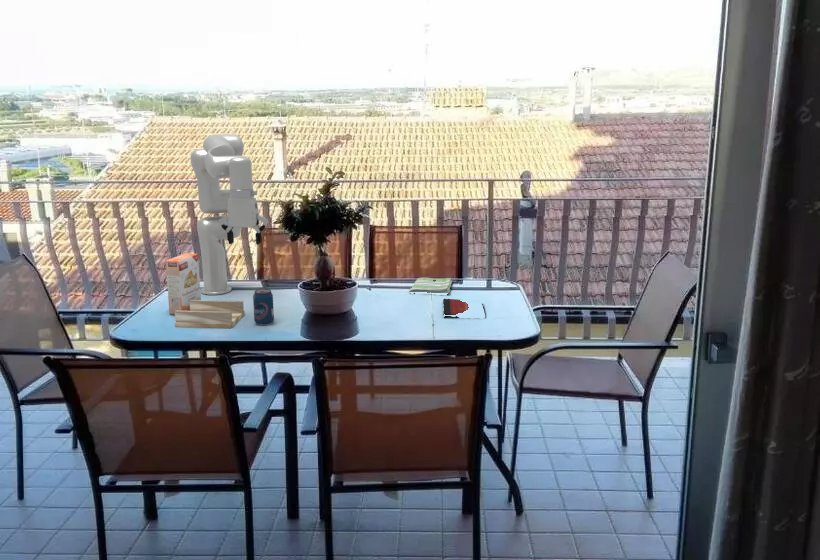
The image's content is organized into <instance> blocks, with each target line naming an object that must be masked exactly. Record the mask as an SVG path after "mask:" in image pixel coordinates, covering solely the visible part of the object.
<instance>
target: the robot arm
mask: <svg viewBox="0 0 820 560" xmlns="http://www.w3.org/2000/svg"><path fill="white" fill-rule="evenodd" d="M202 144H203V145H202V146H203V148H199V149H196V150H193V151H192V152H191V154H190V164H191V167H192V170H193V172H194V174H195V177H196V181H197V191H198V192H197V193H198V194H197V195H198V203H199V204H198V205H199V209H200V211H201V212H202V213H203V214H210V215H211V214H212V215H213V214H226V213H227V215H219V216H218V215H217V216H216V215H215V216H206V217H202V218H200V219H199V220H197V223H196V229H197V235H198V238H199V244H200V254H201V266H202V267H201V268H202V278H203V279H202V280H203V287H202V288H201V287H200V294H202V295H206V294H207V296H208V295H211V296H217V295H223V294H227V293H230V292H231V291H232V287H231V286H230V285H228V281H229V278H228V276H227V272H228V271H227V260H226V259H227V258H226V250H225V247H224V246H223V245H222V244H221V243H220V242H219V240H225V239H227V240H226V241H227V242H228V245H231V244H234V243H235V239H236V238H238V237H240V235H241V233H242V228H243V229H245V228H247V229H249V228H251V229H254V231H255V244H256V245H260V244H261V242H263V238H262V237H263V235H262V234H263V233H262V232H263V231H264V230H265V229H266V228H267V225H268V223H269V219H267V218H265V217H264V216H262V215H260V212H259V207H258V201H257V197H255V196H258V191H257V190H254V187H253V185H254V184H253V171H252V170H253V169H252V161H251V159H250V158H248V157H247V156H245V155H243V154H244V142H243V139H242V138H241V137H240V135H237V134H212V135H211V134H210V135H208V136H207V137H206V138H204V140H203V143H202ZM220 179H229V189H227V188H225V189H221V186H220ZM260 222H261V223H262V224H261V226H260Z"/></svg>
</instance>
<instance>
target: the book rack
mask: <svg viewBox="0 0 820 560" xmlns="http://www.w3.org/2000/svg"><path fill="white" fill-rule="evenodd" d="M189 304H190V311H179V310H176V311H175V315H174V319H175V322H174V327H175V328H194V329H197V328H200V329H201V328H202V329H203V328H204V329H205V328H206V329H211V328H212V329H231V328H233V327H234V326H235V325H236V324H237V323H238V322H239V321H240V320H241V319H242V318H243V317H244V316H245V314H246V312H245V310H244V309H245V308H244V300H211V299H209V300H207V299H201V300H190V301H189ZM234 324H235V325H234Z"/></svg>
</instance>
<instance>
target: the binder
mask: <svg viewBox="0 0 820 560" xmlns="http://www.w3.org/2000/svg"><path fill="white" fill-rule="evenodd" d="M460 300H461V299H454V298H453V299H452V298H443V300H442V305H443V304H444V306H442V307H443V308H444V311H442V312H443V313H442V315H444V314H445V315H456V314H458V313H463V312H464V311H466V310H468V308H469V307H468V304H467V303H466V302H462V301H460ZM443 308H442V309H443Z"/></svg>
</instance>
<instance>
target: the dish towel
mask: <svg viewBox="0 0 820 560" xmlns="http://www.w3.org/2000/svg"><path fill="white" fill-rule="evenodd" d="M433 280H436V281H435V282H434V281H433ZM452 282H453V283H454V280H453V278H452V277H446V278H432V277H418V278H417V279H416V280H415V281H414V283H413V284H414V285H413V284H412V286H411V287H412V288H411V287H410V289H409V290H408V293H409V292H427V293H430V292H431V293H449V292H450V291H451V289H450V287H451V288H452V286H451V284H452ZM435 285H440V286H435ZM452 285H453V284H452ZM449 294H450V293H449Z"/></svg>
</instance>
